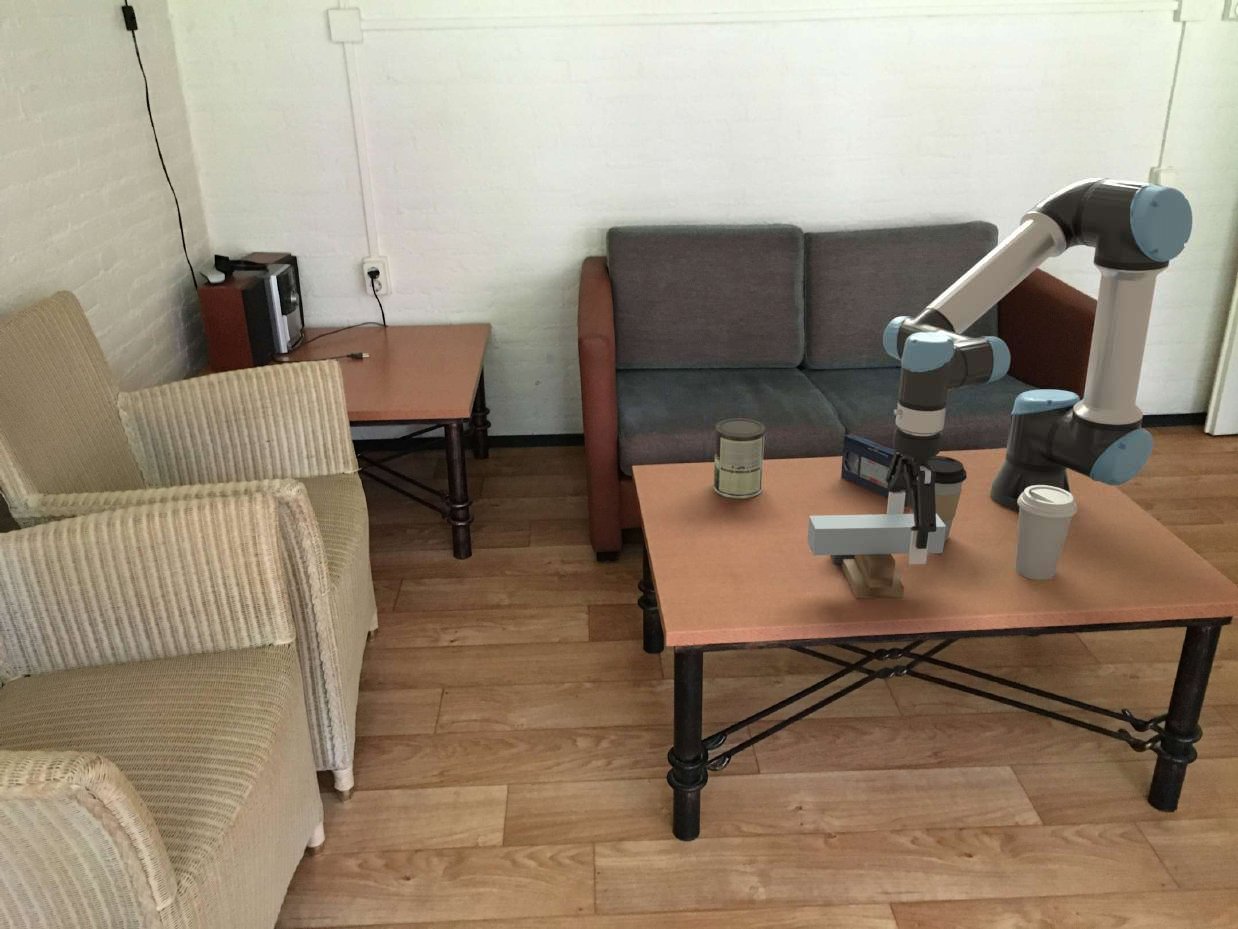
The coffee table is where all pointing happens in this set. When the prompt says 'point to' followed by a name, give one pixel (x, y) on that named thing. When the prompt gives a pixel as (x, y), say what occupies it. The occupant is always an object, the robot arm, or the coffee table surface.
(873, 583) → the fulcrum
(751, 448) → the coffee can
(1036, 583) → the coffee table surface
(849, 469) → the vhs cassette tape
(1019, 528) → the coffee cup
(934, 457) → the coffee cup
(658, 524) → the coffee table surface
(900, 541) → the beam
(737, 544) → the coffee table surface
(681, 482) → the coffee table surface
